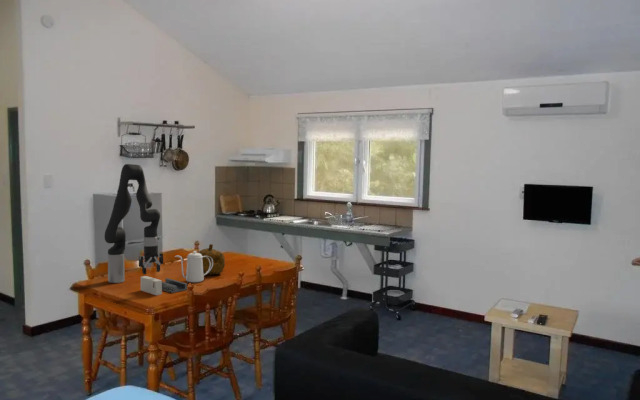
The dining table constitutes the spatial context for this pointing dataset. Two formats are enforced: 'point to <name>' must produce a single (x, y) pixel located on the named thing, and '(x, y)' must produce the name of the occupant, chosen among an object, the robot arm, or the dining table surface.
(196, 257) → the coffeepot
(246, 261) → the dining table surface
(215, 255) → the decorative pumpkin
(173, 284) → the bottom track
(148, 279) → the white rectangular block
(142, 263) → the robot arm
